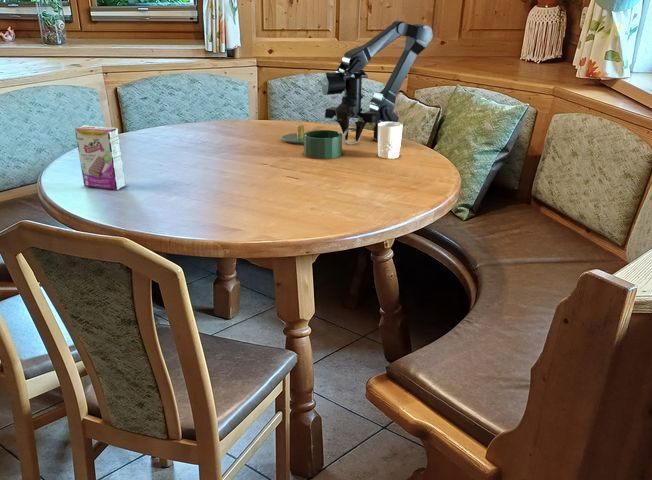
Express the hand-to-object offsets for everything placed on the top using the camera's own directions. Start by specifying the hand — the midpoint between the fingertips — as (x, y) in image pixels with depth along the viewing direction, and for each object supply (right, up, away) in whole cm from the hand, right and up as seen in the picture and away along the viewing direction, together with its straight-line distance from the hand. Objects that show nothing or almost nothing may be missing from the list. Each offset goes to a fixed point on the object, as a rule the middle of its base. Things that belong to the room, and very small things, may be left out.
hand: (351, 140), depth 249 cm
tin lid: (-18, +2, +5) cm, 18 cm away
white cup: (+11, -10, -14) cm, 20 cm away
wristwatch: (0, -1, +1) cm, 1 cm away
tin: (-10, -8, -11) cm, 17 cm away
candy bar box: (-74, -27, -41) cm, 89 cm away
